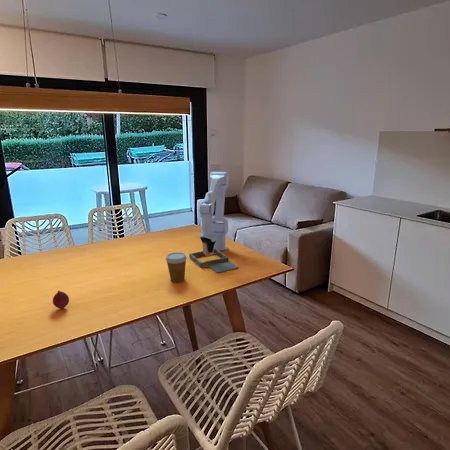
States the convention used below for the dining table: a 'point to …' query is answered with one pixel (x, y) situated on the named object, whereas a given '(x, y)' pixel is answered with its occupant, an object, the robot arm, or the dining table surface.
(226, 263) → the mat
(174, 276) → the disposable coffee cup
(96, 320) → the dining table surface
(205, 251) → the block
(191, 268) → the dining table surface
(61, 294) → the onion
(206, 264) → the grey square frame
